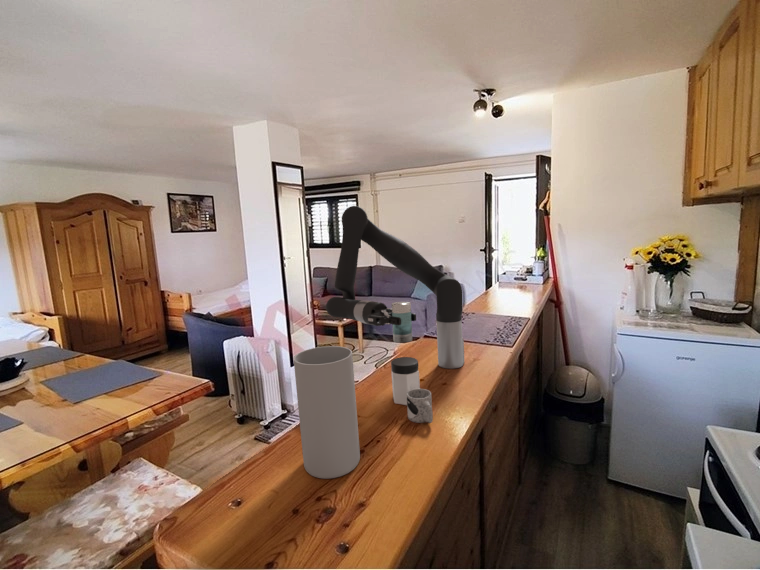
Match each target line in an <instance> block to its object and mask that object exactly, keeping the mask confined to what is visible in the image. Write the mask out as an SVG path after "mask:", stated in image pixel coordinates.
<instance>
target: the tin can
mask: <svg viewBox="0 0 760 570" xmlns="http://www.w3.org/2000/svg"><path fill="white" fill-rule="evenodd" d="M391 308H392V316H394V317H400V318H401V325H394V324H391V325H392V335H393V342H395V343H400V344H403V343H404V344H405V343H410V342H412V341H413V323H412V322H413V321H412V319H411V313H412V305H411V302H409V301H396V302H392V303H391Z"/></svg>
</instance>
